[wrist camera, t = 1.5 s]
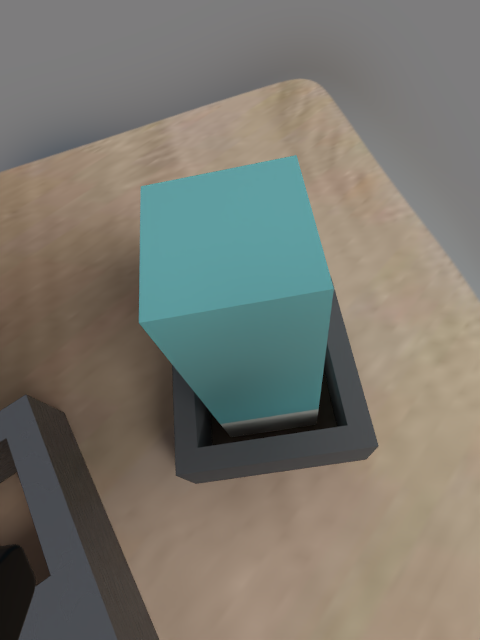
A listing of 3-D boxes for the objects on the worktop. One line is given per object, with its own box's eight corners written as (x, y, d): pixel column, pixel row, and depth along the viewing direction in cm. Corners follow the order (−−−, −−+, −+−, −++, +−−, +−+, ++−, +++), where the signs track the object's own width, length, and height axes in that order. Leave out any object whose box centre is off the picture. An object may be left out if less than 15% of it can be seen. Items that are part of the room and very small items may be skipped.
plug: (316, 424, 20) (333, 288, 9) (231, 437, 20) (139, 323, 9) (299, 346, 22) (296, 155, 11) (222, 358, 22) (140, 186, 11)
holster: (366, 459, 19) (378, 446, 16) (195, 483, 19) (175, 475, 16) (327, 310, 23) (331, 276, 20) (187, 333, 24) (170, 305, 20)
